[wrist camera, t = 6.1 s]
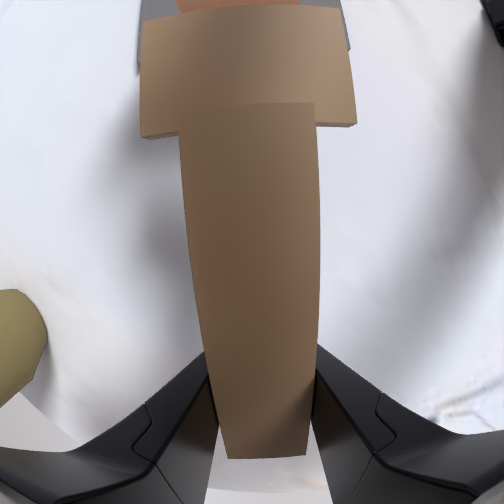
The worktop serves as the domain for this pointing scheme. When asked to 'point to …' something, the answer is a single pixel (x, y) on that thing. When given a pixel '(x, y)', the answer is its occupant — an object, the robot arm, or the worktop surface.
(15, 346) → the squeeze bottle
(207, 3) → the tile
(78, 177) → the worktop surface
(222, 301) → the turner
